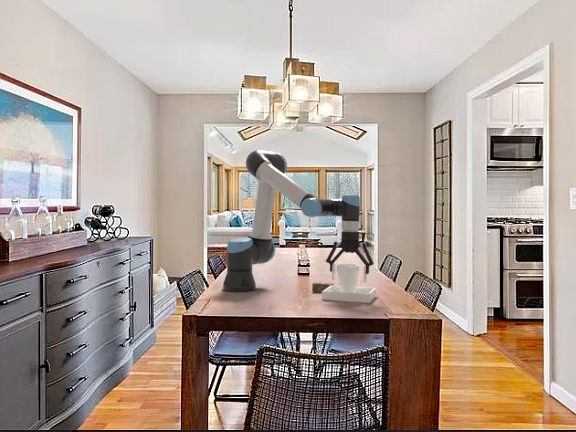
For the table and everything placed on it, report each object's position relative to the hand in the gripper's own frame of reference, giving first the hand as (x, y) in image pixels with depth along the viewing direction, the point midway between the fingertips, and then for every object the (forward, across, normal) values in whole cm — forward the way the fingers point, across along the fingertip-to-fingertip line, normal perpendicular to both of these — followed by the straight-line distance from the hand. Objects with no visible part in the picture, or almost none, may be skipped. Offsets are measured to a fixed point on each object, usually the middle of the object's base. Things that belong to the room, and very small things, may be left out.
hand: (349, 280), depth 221 cm
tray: (+7, 0, 0) cm, 7 cm away
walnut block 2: (+8, -12, +10) cm, 17 cm away
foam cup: (+7, 0, 0) cm, 7 cm away
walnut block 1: (+8, -17, +10) cm, 21 cm away
